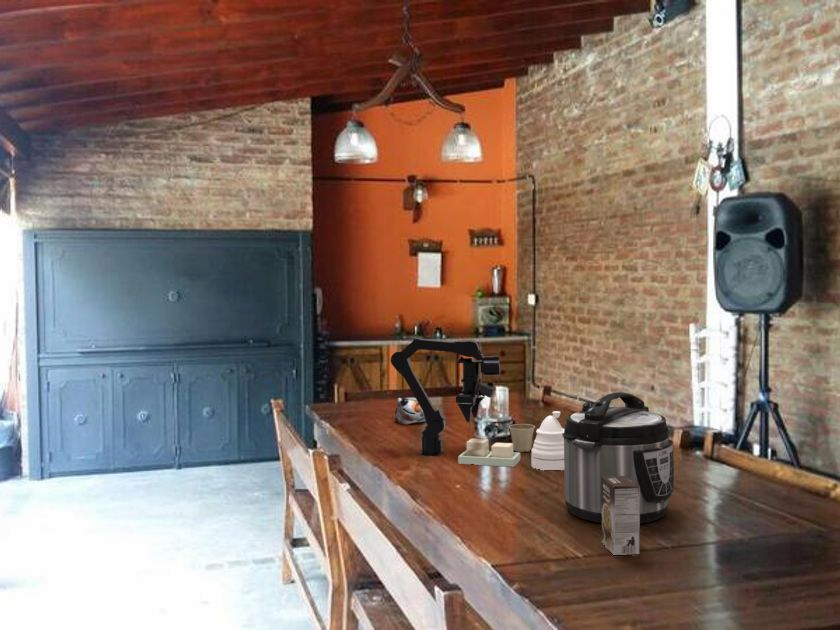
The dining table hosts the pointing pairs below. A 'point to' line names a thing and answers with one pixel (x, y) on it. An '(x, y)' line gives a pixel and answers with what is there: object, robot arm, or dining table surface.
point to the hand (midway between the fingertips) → (471, 419)
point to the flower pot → (522, 436)
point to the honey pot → (549, 445)
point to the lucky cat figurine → (408, 411)
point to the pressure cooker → (617, 455)
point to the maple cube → (477, 447)
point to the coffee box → (620, 515)
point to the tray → (493, 456)
